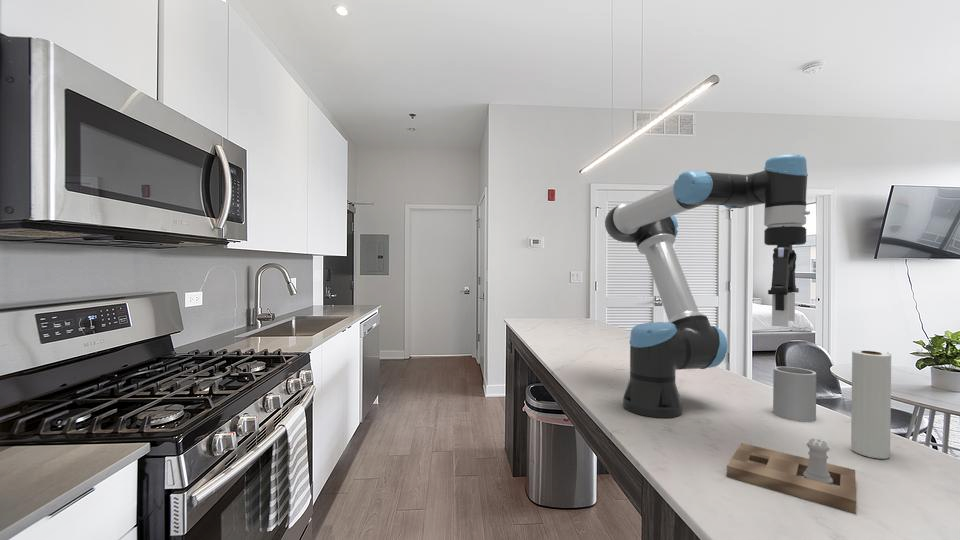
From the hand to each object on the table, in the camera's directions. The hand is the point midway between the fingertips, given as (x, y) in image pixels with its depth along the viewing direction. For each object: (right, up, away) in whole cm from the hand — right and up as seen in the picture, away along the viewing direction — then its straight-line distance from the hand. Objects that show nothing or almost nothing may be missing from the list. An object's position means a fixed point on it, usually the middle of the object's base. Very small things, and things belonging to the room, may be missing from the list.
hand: (783, 323), depth 94 cm
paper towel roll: (+16, -27, -4) cm, 32 cm away
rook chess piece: (-7, -27, -18) cm, 33 cm away
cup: (+16, -27, +19) cm, 37 cm away
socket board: (-10, -27, -16) cm, 32 cm away
